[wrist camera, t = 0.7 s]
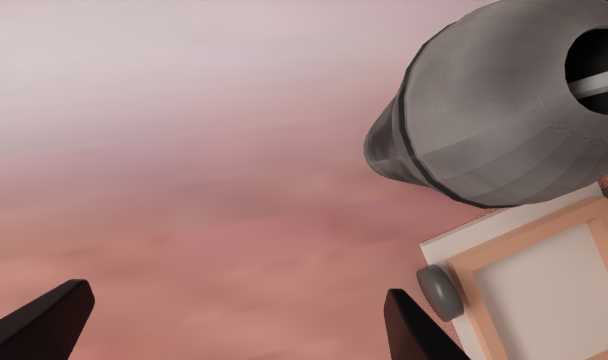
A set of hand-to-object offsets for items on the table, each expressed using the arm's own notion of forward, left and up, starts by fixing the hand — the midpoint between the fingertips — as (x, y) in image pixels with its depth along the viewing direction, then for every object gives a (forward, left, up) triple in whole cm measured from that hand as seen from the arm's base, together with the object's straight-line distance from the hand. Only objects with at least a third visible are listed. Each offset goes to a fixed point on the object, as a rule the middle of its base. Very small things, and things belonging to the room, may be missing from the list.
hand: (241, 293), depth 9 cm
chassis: (-13, -17, -13) cm, 25 cm away
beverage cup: (+2, -11, -13) cm, 17 cm away
